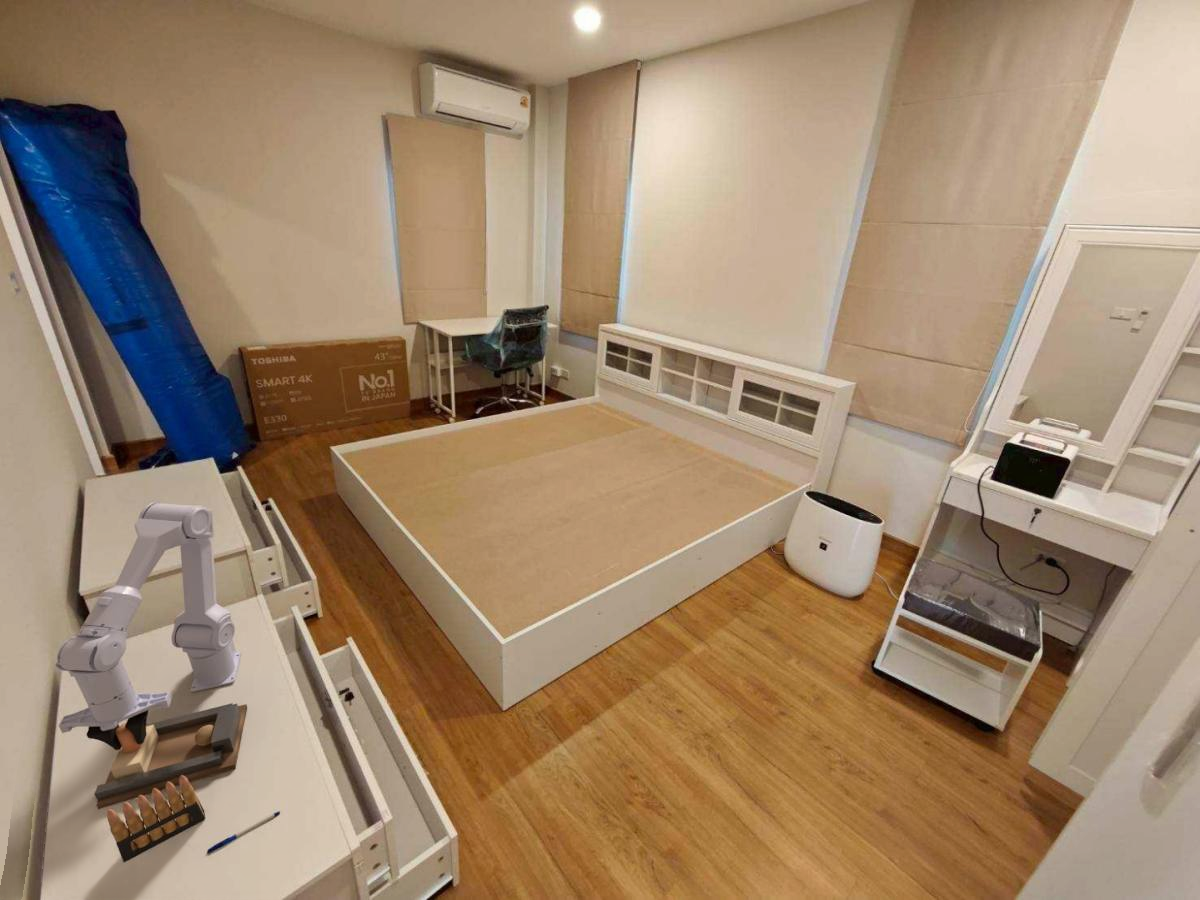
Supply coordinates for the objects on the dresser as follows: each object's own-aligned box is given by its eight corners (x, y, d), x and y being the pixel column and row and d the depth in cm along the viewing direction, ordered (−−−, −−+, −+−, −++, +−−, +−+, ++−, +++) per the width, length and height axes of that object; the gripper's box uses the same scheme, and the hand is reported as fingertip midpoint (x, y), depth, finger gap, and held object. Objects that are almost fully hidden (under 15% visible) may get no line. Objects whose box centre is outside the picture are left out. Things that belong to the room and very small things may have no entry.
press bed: (126, 739, 99) (119, 721, 97) (247, 707, 107) (242, 691, 105) (98, 809, 87) (88, 790, 85) (235, 768, 96) (229, 750, 94)
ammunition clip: (204, 810, 89) (187, 767, 84) (205, 819, 88) (188, 776, 83) (123, 852, 82) (100, 808, 77) (123, 862, 81) (100, 819, 76)
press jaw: (132, 743, 96) (119, 713, 93) (158, 736, 98) (146, 706, 95) (117, 782, 90) (101, 752, 86) (145, 774, 92) (131, 744, 88)
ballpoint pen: (208, 856, 83) (206, 853, 83) (207, 851, 84) (205, 848, 83) (280, 814, 90) (279, 811, 89) (279, 810, 90) (278, 807, 90)
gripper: (39, 723, 80) (68, 776, 86) (154, 696, 86) (174, 748, 92) (60, 688, 86) (86, 740, 92) (166, 665, 92) (184, 715, 98)
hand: (131, 742), depth 92 cm, fingers closed on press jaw, 3 cm apart
